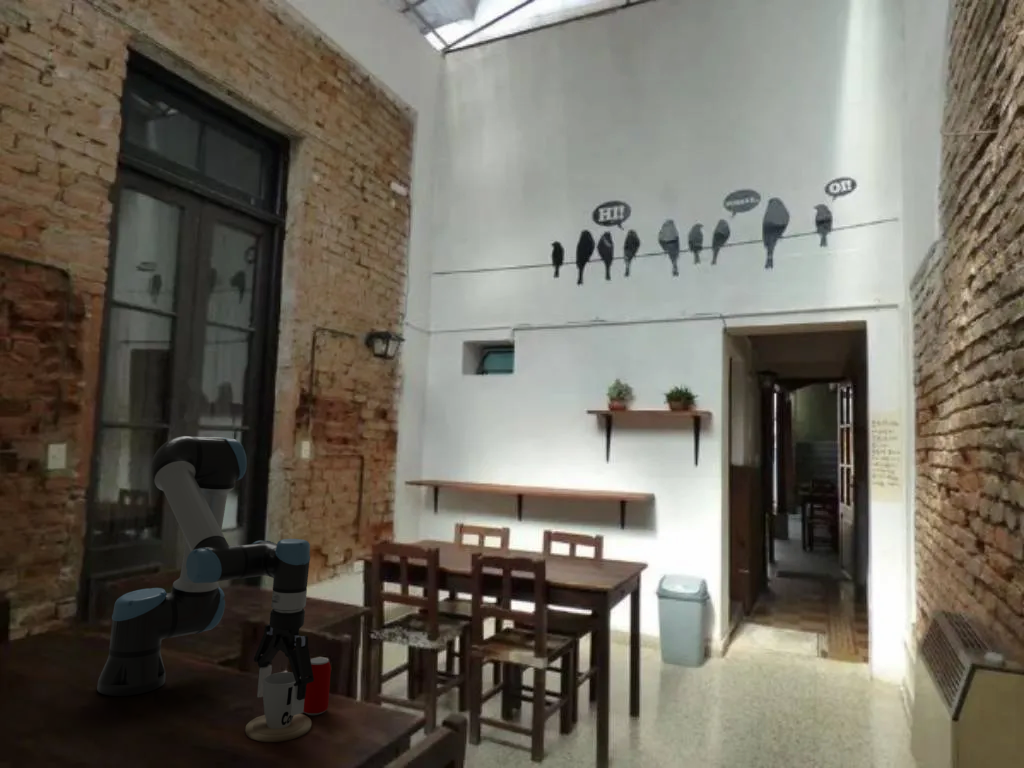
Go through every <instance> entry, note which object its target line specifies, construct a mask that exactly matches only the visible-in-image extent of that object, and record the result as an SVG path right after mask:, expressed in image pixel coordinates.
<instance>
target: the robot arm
mask: <svg viewBox="0 0 1024 768" xmlns="http://www.w3.org/2000/svg"><path fill="white" fill-rule="evenodd" d="M247 460H248V459H247V455H246V451H245V449H244V446H243V444H242V443H241V442H240V441H239V440H237V439H234V438H230V437H222V436H218V437H217V436H188V435H182V436H177V437H173V438H171V439H169V440H167V441H165V443H163V444H162V445H161V446H160V447H159V448H158V449H157V450H156V452H155V454H154V455H153V458H152V461H151V464H150V473H151V478H152V479H153V480H152V481H153V482H154V484H155V486H156V488H157V489H158V490H160V491H162V492H163V493H164V495H165V497H166V499H167V502H168V505H169V506H170V509H171V510H172V513H173V515H174V517H175V520H176V521H177V524H178V526H179V528H180V531H181V532H182V535H183V537H184V539H185V544H184V548H183V550H184V551H183V558H182V562H181V569H180V574H179V575H180V576H179V578H177V579H176V580H174V581H173V583H172V586H171V587H172V588H171V592H167V591H166V590H165V589H164V588H162V587H152V588H141V589H137V590H133V591H129V592H126V593H124V594H122V595H121V596H119V597H118V598H117V599H116V601H115V603H114V606H113V611H112V614H111V620H112V621H111V630H110V639H109V641H110V642H109V648H108V650H109V651H108V657H107V659H106V662H105V664H104V666H103V668H102V671H101V673H100V675H99V677H98V681H97V687H96V688H97V689H96V691H97V692H98V693H99V694H102V695H104V696H112V697H126V696H127V697H128V696H134V695H135V696H136V695H141V694H145V693H149V692H151V691H155V690H156V689H159V688H160V687H162V686H163V685H164V684H165V682H166V668H165V666H164V662H163V658H162V657H163V656H162V654H161V648H162V640H165V639H170V638H177V637H181V636H188V635H194V634H196V635H197V634H200V633H203V632H207V631H210V630H213V629H214V628H215V627H216V626H218V625H219V624H220V623H221V620H222V618H223V615H224V612H225V608H226V600H225V592H224V590H223V589H222V588H221V587H220V583H219V582H223V581H229V580H238V579H246V578H255V577H262V576H267V577H269V578H272V579H273V583H272V594H271V595H272V597H271V604H270V605H271V608H272V609H271V610H270V615H269V623H268V624H265V625H264V629H263V630H264V631H263V635H262V638H261V640H260V643H259V645H258V647H257V649H256V652H255V655H254V657H253V660H254V663H257V666H258V683H257V695H256V696H257V698H263V679H264V678H265V677H266V676H268V675H270V674H272V669H273V665H272V664H273V660H274V659H275V657H276V656H277V654H278V652H279V651H280V652H281V653H284V656H285V657H286V658H287V659H288V662H289V664H290V668H291V670H292V673H293V675H294V678H295V681H296V683H295V684H293V694H292V706H291V715H292V716H294V715H297V714H303V713H304V712H303V711H304V700H305V697H306V686H307V683H310V682H313V681H314V677H313V671H312V666H311V660H310V659H311V655H310V650H309V636H308V635H302V636H301V635H300V629H301V628H302V627H303V626H304V624H305V613H306V610H305V607H306V606H307V595H308V594H307V591H308V588H307V587H308V580H309V570H310V561H311V555H310V552H311V551H310V550H311V544H310V542H309V541H308V540H306V539H303V538H301V539H299V538H285V539H284V538H283V539H280V540H279V541H277V543H275V542H273V541H271V540H256V541H254V542H252V543H250V544H238V545H229V543H228V541H227V540H226V538H225V536H224V534H223V523H224V518H225V511H226V506H227V505H226V504H227V499H228V494H229V493H230V492H231V491H232V490H234V489H235V484H236V481H239V480H241V479H243V478H244V476H245V474H246V471H247V465H248V463H247ZM300 678H301V679H300Z"/></svg>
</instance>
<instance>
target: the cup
mask: <svg viewBox="0 0 1024 768" xmlns="http://www.w3.org/2000/svg"><path fill="white" fill-rule="evenodd" d="M300 679H301V678H300ZM295 683H296V681H295V678H294V675H293V672H290V671H288V672H287V671H283V672H282V671H281V672H275V673H271V674H270V675H268V676H266V677H265V678H264V679H263V697H262V702H263V710H264V711H263V712H264V713H263V715H265V718H266V723H267V726H268V727H269V728H272V729H281V728H285V727H287V726H289V725H290V724H291V721H292V719H293V716H292V715H291V706H292V694H293V684H295Z"/></svg>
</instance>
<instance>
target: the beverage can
mask: <svg viewBox="0 0 1024 768" xmlns="http://www.w3.org/2000/svg"><path fill="white" fill-rule="evenodd" d="M310 660H311V666H312V671H313V677H314V681H313V682H310V683H307V686H306V697H305V700H304V711H303V713H304V714H306V716H319V715H321V714H323V713H325V712H326V711H327V710H328V709H329V701H330V688H331V687H330V686H331V672H332V665H331V663H330V660H328V659H327V658H325V657H314V658H310Z"/></svg>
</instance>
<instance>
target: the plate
mask: <svg viewBox="0 0 1024 768" xmlns="http://www.w3.org/2000/svg"><path fill="white" fill-rule="evenodd" d="M311 728H312V720H311V718H310V717H308V715H307V714H306V715H305V714H303V713H300V714H297V715H294V716H293V719H292V721H291V724H290V725H289V726H287V727H285V728H281V729H272V728H269V727H268V726H267V723H266V718H265V714H262V715H260V716H257V717H255V718H253V719H251V720H250V721H249V722H248V723H247V724H246V726H245V730H244V731H245V734H246V736H247V737H248V738H249V739H251V740H254V741H256V742H257V741H258V742H261V743H262V742H263V743H279V742H282V743H283V742H287V741H291V740H295V739H297V738H301V737H302V736H304V735H306V734H307V733H309V731H310V730H311Z"/></svg>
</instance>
